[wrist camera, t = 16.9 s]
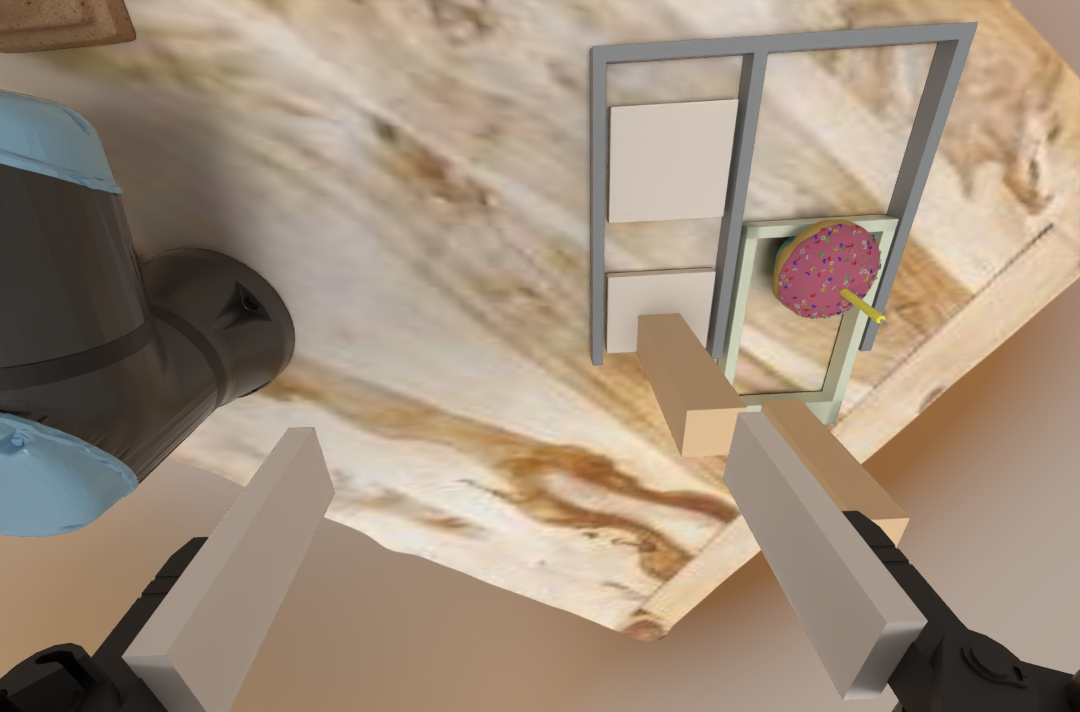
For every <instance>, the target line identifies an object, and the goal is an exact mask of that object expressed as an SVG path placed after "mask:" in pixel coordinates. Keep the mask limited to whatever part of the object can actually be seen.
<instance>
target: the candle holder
mask: <svg viewBox="0 0 1080 712" xmlns="http://www.w3.org/2000/svg"><path fill="white" fill-rule="evenodd" d="M134 39H135V31H134V28H133V26H132V23H131V20H130V17H129V15H128V12H127V9H126V7H125V4H124V2H123V0H0V52H3V53H20V52H33V51H44V50H54V49H64V48H74V47H85V46H95V45H105V44H115V43H121V42H127V41H132V40H134Z"/></svg>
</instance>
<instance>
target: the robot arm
mask: <svg viewBox="0 0 1080 712" xmlns="http://www.w3.org/2000/svg"><path fill="white" fill-rule="evenodd" d="M122 194H123V192H122V189H121V188H120V186H119V185H118V184H116V183H115V181H114V178H113V175H112V172H111V169H110V166H109V163H108V161H107V158H106V155H105V152H104V149H103V146H102V143H101V140H100V138H99V135H98V133H97V132H96V130H95V129H94V127H93V126H92V125H91V124H90V123H89V122H88V121H87V120H86V119H85V118H84V117H83V116H82V115H80V114H79V113H77V112H76V111H74V110H73V109H71V108H69V107H67V106H65V105H62V104H60V103H57V102H54V101H51V100H47V99H43V98H38V97H34V96H29V95H25V94H20V93H15V92H10V91H5V90H0V534H1V535H7V536H17V537H47V536H55V535H61V534H65V533H69V532H72V531H75V530H77V529H80V528H83V527H85V526H86V525H88V524H89V523H92V522H93V521H95V520H96V519H97V518H99V517H100V516H101V515H102V514H103V513H104V512H106V511H107V510H108V509H109V508H110V507H112V506H113V505H114V504H115V503H116V502H117V501H119V500H120V499H121V498H122V497H125V496H127V495H128V494H130V493H132V492H133V491H134V490H135V489H136V488H137V486H138V485H139V484H140V483H141V482H142V481H143V480H144V479H145V478H146V477H147V476H148V475H149V474H150V473H151V472H152V471H153V470H154V469H155V468H156V467H157V466H158V465H159V464H160V463H161V462H162V461H163V460H164V459H165V458H166V457H167V456H168V455H169V454H170V453H172V452H173V451H174V450H175V449H176V448H177V447H178V446H179V445H180V444H181V443H182V442H183V441H184V440H185V439H186V438H187V437H188V436H189V435H190V434H191V433H192V432H193V431H194V430H195V429H196V428H197V427H198V426H199V425H200V424H201V423H202V422H203V421H204V420H205V419H206V418H207V417H208V416H209V415H210V414H211V413H212V412H213V411H214V410H215V409H217V408H218V407H221V406H223V405H225V404H228V403H230V402H232V401H233V400H235V399H236V398H240V397H244V396H247V395H250V394H253V393H255V392H257V391H259V390H261V389H263V388H264V387H266V386H267V385H268V384H270V383H271V382H272V381H273V380H274V379H275V378H276V377H277V376H278V375H279V374H280V373H281V372H282V371H283V369H284V368H285V367H286V366H287V364H288V362H289V360H290V358H291V356H292V352H293V348H294V331H293V326H292V322H291V319H290V316H289V314H288V311H287V309H286V307H285V306H284V304H283V302H282V301H281V299H280V298H279V296H278V295H277V293H276V292H275V291H274V290H273V289H272V287H271V286H270V285H269V284H268V283H267V282H266V281H265V280H264V279H263V278H261V277H260V276H259V275H258V274H257V273H255V272H254V271H253V270H251V269H250V268H248V267H247V266H245V265H243V264H242V263H240V262H238V261H236V260H234V259H232V258H230V257H228V256H225V255H222V254H220V253H216V252H213V251H209V250H203V249H195V248H181V249H174V250H170V251H166V252H163V253H161V254H158V255H156V256H153V257H151V258H148V259H146V260H144V261H142V262H140V263H139V262H138V259H137V255H136V252H135V248H134V244H133V241H132V237H131V233H130V230H129V226H128V223H127V219H126V215H125V212H124V208H123V204H122V201H121V197H120V195H122ZM723 480H724V482H725V483H726V485H727V487H728V489H729V491H730V493H731V495H732V496H733V498H734V500H735V502H736V504H737V506H738V507H739V509H740V511H741V513H742V515H743V517H744V519H745V520H746V522H747V524H748V526H749V528H750V530H751V532H752V533H753V535H754V537H755V539H756V541H757V543H758V544H759V546H760V548H761V550H762V552H763V554H764V555H765V557H766V559H767V561H768V563H769V565H770V567H771V569H772V570H773V572H774V574H775V576H776V578H777V579H778V581H779V583H780V585H781V587H782V589H783V591H784V592H785V594H786V596H787V598H788V600H789V602H790V604H791V606H792V607H793V609H794V611H795V613H796V615H797V617H798V619H799V620H800V622H801V624H802V626H803V628H804V630H805V631H806V633H807V635H808V637H809V639H810V641H811V643H812V644H813V646H814V648H815V650H816V652H817V654H818V655H819V657H820V659H821V661H822V663H823V665H824V667H825V668H826V670H827V672H828V674H829V676H830V678H831V680H832V681H833V683H834V685H835V687H836V689H837V691H838V693H839V694H840V696H841V698H842V700H854V699H875V698H878V697H879V696H880V694H881V693H882V691H883V690H884V688H885V687H886V685H887V683H888V684H889V685H890V687H891V689H892V690H893V692H894V693H895V695H896V696H897V698H898V700H899V702H898V703H897V705H896V706H895V708H894V709H893V710H892V712H1080V670H1079V671H1078V672H1077V673H1076V674H1075V675H1072V674H1068V673H1064V672H1061V671H1057V670H1053V669H1049V668H1045V667H1041V666H1037V665H1033V664H1030V663H1026V662H1023V661H1020V660H1019V659H1018V658H1017V657H1016V656H1015V655H1014V654H1013V653H1011V652H1010V651H1009V650H1008V649H1007V648H1005V647H1004V646H1003V645H1001V644H1000V643H998V642H996V641H994V640H993V639H991V638H989V637H988V636H986V635H983V634H980V633H977V632H975V631H972V630H968V629H967V627H965V625H964V624H963V623H962V622H961V621H960V620H959V619H958V618H957V617H956V615H955V614H954V613H953V612H952V611H951V610H950V608H949V607H948V606H947V605H946V604H945V602H944V601H943V600H942V599H941V598H940V597H939V596H938V594H937V593H936V592H935V591H934V590H933V588H932V587H931V586H930V585H929V584H928V583H927V581H926V580H925V579H924V578H923V577H922V576H921V574H920V573H919V572H918V571H917V570H916V569H915V567H914V566H913V565H911V564H909V562H908V561H909V560H908V559H907V558H906V557H905V556H904V554H903V553H902V552H901V551H900V550H899V549H896V547H895V544H894V543H893V542H892V540H891V539H890V538H889V537H888V536H887V534H886V533H885V532H884V531H883V530H882V529H881V527H880V526H878V525H877V524H876V523H874V522H873V521H872V520H870V519H869V518H867V517H866V516H865V515H863V514H862V513H861V512H859V511H858V510H855V511H841V510H840V509H839V508H838V507H837V505H836V504H835V503H834V502H833V500H832V499H831V498H830V496H829V495H828V494H827V493H826V491H825V490H824V489H823V488H822V486H821V485H820V484H819V483H818V481H817V480H816V479H815V477H814V476H813V475H812V474H811V472H810V471H809V470H808V469H807V467H806V466H805V465H804V464H803V462H802V461H801V460H800V458H799V457H798V456H797V455H796V453H795V452H794V451H793V450H792V448H791V447H790V446H789V445H788V443H787V442H786V441H785V439H784V438H783V437H782V436H781V434H780V433H779V432H778V431H777V429H776V428H775V427H774V426H773V424H772V423H771V422H770V420H769V419H768V418H767V417H766V415H765V414H764V413H763V412H738V416H737V420H736V424H735V429H734V433H733V437H732V442H731V446H730V450H729V455H728V459H727V463H726V468H725V472H724V476H723ZM334 494H335V492H334V488H333V485H332V482H331V479H330V476H329V473H328V469H327V466H326V463H325V460H324V457H323V454H322V451H321V447H320V444H319V441H318V438H317V435H316V432H315V428H314V427H301V428H288V430H287V431H286V432H285V434H284V435H283V437H282V438H281V439H280V441H279V442H278V443H277V445H276V446H275V448H274V449H273V450H272V452H271V453H270V454H269V456H268V457H267V458H266V460H265V461H264V463H263V464H262V465H261V467H260V468H259V469H258V471H257V472H256V474H255V475H254V476H253V478H252V479H251V480H250V482H249V483H248V484H247V486H246V487H245V489H244V490H243V491H242V493H241V494H240V495H239V497H238V498H237V500H236V501H235V502H234V504H233V505H232V506H231V508H230V509H229V510H228V512H227V513H226V515H225V516H224V517H223V519H222V520H221V522H220V523H219V524H218V526H217V527H216V528H215V530H214V531H213V532H212V534H211V535H210V537H197V538H193V539H191V540H190V541H189V542H188V543H186V544H185V545H184V546H183V547H182V548H180V549H179V550H178V551H177V552H176V553H174V554H173V555H172V556H171V557H170V558H169V559H168V561H167V562H166V563H165V564H164V566H163V567H162V568H161V570H160V571H159V572H158V573H157V575H156V576H155V580H153V581H151V582H150V584H149V585H148V586H147V587H146V589H145V590H144V591H143V592H142V596H141V598H138V599H137V600H136V601H135V603H134V604H133V605H132V606H131V608H130V609H129V610H128V612H127V613H126V614H125V615H124V617H123V618H122V620H121V621H120V622H119V623H118V624H117V626H116V627H115V628H114V629H113V631H112V632H111V633H110V635H109V636H108V637H107V638H106V640H105V641H104V642H103V644H102V645H101V646H100V647H99V649H98V650H97V651H96V652H95V654H94V655H93V656H92V657H90V656H89V655H88V653H87V652H86V651H85V650H84V649H83V648H82V646H79V645H76V644H73V643H67V644H60V645H54V646H52V647H50V648H47V649H44V650H42V651H40V652H37V653H35V654H34V655H32V656H30V657H29V658H27V659H25V660H24V661H22V662H21V663H19V664H18V665H16V666H15V667H14V668H12V669H11V670H10V671H9V672H8V673H7V674H5V675H4V676H3V677H2V678H1V679H0V712H229V710H230V707H231V706H232V704H233V701H234V699H235V697H236V695H237V693H238V691H239V689H240V687H241V685H242V683H243V681H244V679H245V677H246V675H247V673H248V671H249V669H250V667H251V664H252V662H253V660H254V658H255V656H256V654H257V652H258V650H259V648H260V646H261V644H262V642H263V640H264V638H265V636H266V634H267V632H268V629H269V627H270V626H271V623H272V621H273V619H274V617H275V615H276V613H277V611H278V609H279V607H280V605H281V603H282V601H283V599H284V597H285V595H286V593H287V591H288V589H289V587H290V584H291V582H292V580H293V578H294V576H295V574H296V572H297V570H298V568H299V566H300V564H301V562H302V560H303V558H304V556H305V554H306V552H307V550H308V548H309V545H310V543H311V541H312V539H313V537H314V535H315V533H316V531H317V529H318V527H319V525H320V523H321V521H322V519H323V517H324V515H325V513H326V511H327V509H328V506H329V504H330V502H331V500H332V498H333V496H334Z"/></svg>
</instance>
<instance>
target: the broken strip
mask: <svg viewBox="0 0 1080 712" xmlns="http://www.w3.org/2000/svg"><path fill="white" fill-rule="evenodd" d="M738 100H739V99H732V100H716V101H700V102H684V103H668V104H652V105H636V106H620V107H609V132H608V200H607V221H608V222H609V223H622V222H639V221H656V220H673V219H690V218H707V217H723V213H724V206H725V198H726V191H727V183H728V176H729V168H730V161H731V153H732V145H733V138H734V130H735V123H736V115H737V108H738ZM715 274H716V271H715V270H713V269H712V268H696V269H679V270H661V271H644V272H626V273H609V274H606V336H605V348H606V352H607V353H620V352H637V354H638V356H639V359H640V361H641V363H642V366H643V368H644V370H645V373H646V375H647V377H648V380H649V382H650V384H651V387H652V389H653V391H654V394H655V396H656V398H657V401H658V403H659V405H660V408H661V410H662V412H663V415H664V417H665V419H666V422H667V424H668V426H669V429H670V431H671V433H672V436H673V438H674V440H675V443H676V445H677V448H678V450H679V452H680V455H681V457H694V456H714V455H729V450H730V446H731V442H732V437H733V433H734V429H735V424H736V420H737V416H738V412H747V408H748V407H747V406H746V405H745V403H744V402H743V400H742V399H741V398H740V396H739V395H738V394H737V392H736V391H735V389H734V388H733V387H732V385H731V384H730V382H729V381H728V380H727V378H726V377H725V375H724V374H723V373H722V371H721V370H720V369H719V367H718V366H717V364H716V363H715V362H714V360H713V359H712V357H711V356H710V355H709V353H708V352H707V350H706V349H705V348H706V342H707V334H708V327H709V319H710V312H711V304H712V297H713V289H714V281H715Z"/></svg>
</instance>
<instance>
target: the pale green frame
mask: <svg viewBox="0 0 1080 712" xmlns="http://www.w3.org/2000/svg"><path fill="white" fill-rule="evenodd" d="M840 219H842V220H848V221H850V222H853V223H855V224H857V225H859V226H861V227H863V228H864V229H865V230H866V231H868V232H869V233H870V234H871V235H872V234H873V235H874V236H875V237H874V238H875V239H876V240H877V241H876V242H877V243H878V246H879V251H882V253H881V252H880V253H881V255H880V260H881V269H880V268H879V269H880V270H878V274H877V277H878V278H877V277H876V278H877V279H876V280H875V281H874V283H873V285H872V286H871V289H870V290H869V292H868V293H867V295H866V296H865V297H863V301H864V302H866V303H867V304H869V305H870V306H872V303H873V300H874V297H875V293H876V290H877V287H878V284H879V281H880V277H881V274H882V271H883V268H884V265H885V261H886V258H887V255H888V252H889V248H890V245H891V242H892V239H893V236H894V232H895V229H896V226H897V223H898V220H899V219H897V218H894V217H891V216H887V215H884V214H879V215H862V216H845V217H828V218H811V219H793V220H776V221H759V222H742V227H741V233H740V240H739V247H738V253H737V260H736V266H735V273H734V279H733V286H732V292H731V299H730V305H729V312H728V319H727V325H726V332H725V338H724V345H723V351H722V358H721V359H719V360H718V367H719V369H720V370H721V371H722V373H723V374H724V375H725V377H726V378H727V380H728V381H729V382H730V384H731V385H733V380H734V374H735V368H736V362H737V356H738V350H739V345H740V339H741V333H742V327H743V321H744V315H745V310H746V304H747V298H748V292H749V286H750V280H751V275H752V269H753V263H754V257H755V251H756V245H757V240H758V238H775V237H792V236H798V235H799V234H800V233H801V232H803V231H804V230H806V229H807V228H808V227H810V226H811V225H813V224H815V223H817V222H819V221H823V220H840ZM845 311H846V312H845V313H844V316H843V319H842V323H841V326H840V330H839V333H838V337H837V340H836V344H835V347H834V351H833V354H832V358H831V362H830V365H829V369H828V372H827V376H826V379H825V383H824V386H823V390H822V391H819V392H801V393H782V394H763V395H744V396H740V398H741V399H742V400H743V402H744V403H745V405H746V406H747V407H748V408H747V412H763V413H764V414H765V415H766V417H767V418H768V419H769V420H770V422H771V423H772V424H773V426H774V427H775V428H776V429H777V431H778V432H779V433H780V434H781V436H782V437H783V438H784V439H785V441H786V442H787V443H788V445H789V446H790V447H791V448H792V450H793V451H794V452H795V453H796V455H797V456H798V457H799V458H800V460H801V461H802V462H803V464H804V465H805V466H806V467H807V469H808V470H809V471H810V472H811V474H812V475H813V476H814V477H815V479H816V480H817V481H818V483H819V484H820V485H821V486H822V488H823V489H824V490H825V491H826V493H827V494H828V495H829V496H830V498H831V499H832V500H833V502H834V503H835V504H836V505H837V507H838V508H839V509H840V510H841V511H855V510H858V511H859V512H861V513H862V514H863V515H865V516H866V517H867V518H869V519H870V520H872V521H873V522H874V523H876V524H877V525H878V526H880V527H881V529H882V530H883V531H884V532H885V533H886V534H887V536H888V537H889V538H890V539H891V540H892V542H893V543H894V544H895V547H897V545H898V542H899V541H900V538H901V536H902V534H903V532H904V530H905V528H906V525H907V523H908V521H909V519H910V518H909V517H908V515H907V514H906V513H905V512H904V511H903V510H902V509H901V508H900V507H899V506H898V505H897V504H896V502H895V501H893V499H892V498H891V497H890V496H889V495H888V494H887V493H886V492H885V491H884V489H883V488H882V487H881V486H880V485H879V484H878V483H877V482H876V481H875V480H874V479H873V478H872V476H871V475H870V474H869V473H868V472H867V471H866V470H865V469H864V468H863V467H862V466H861V464H860V463H859V462H858V461H857V460H856V459H855V458H854V457H853V456H852V455H851V454H850V453H849V451H848V450H847V449H846V448H845V447H844V446H843V445H842V444H841V443H840V442H839V441H838V440H837V438H836V437H835V436H834V435H833V434H832V433H831V432H830V431H829V430H828V429H827V428H826V427H825V425H824V424H835V422H836V419H837V415H838V412H839V409H840V406H841V403H842V399H843V396H844V393H845V390H846V387H847V383H848V380H849V377H850V374H851V370H852V367H853V364H854V361H855V358H856V354H857V351H858V348H859V345H860V342H861V338H862V335H863V332H864V329H865V326H866V322H867V319H868V315H866V314H865V313H864V312H862V311H861V310H860V309H858V308H857V307H856V306H853V308H851V309H849V310H845Z"/></svg>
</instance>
